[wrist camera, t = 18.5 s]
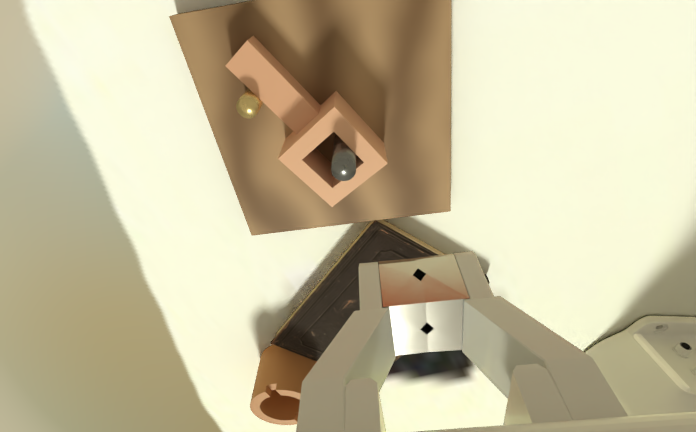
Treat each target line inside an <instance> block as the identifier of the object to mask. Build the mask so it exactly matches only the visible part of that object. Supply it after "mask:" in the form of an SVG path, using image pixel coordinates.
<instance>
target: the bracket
mask: <svg viewBox="0 0 696 432" xmlns="http://www.w3.org/2000/svg"><path fill="white" fill-rule="evenodd" d="M316 362H317V361H314V360H312V359H309V358H307V357H304V356H301V355H299V354H296V353H294V352H291V351H288V350H286V349H283V348H281V347H278V346H276V345H271V346H269V347H268V348H266V349H265V350H264V351H263V353H262V355H261V358H260V363H259V367H258V372H257V376H256V381H255V385H254V390H253V394H252V399H251V403H250V408H251V411H252V412H253V413H254V414H255V415H256V416H257V417H258V418H260V419H262V420H264V421H266V422H269V423H273V424H279V425H294V424H297V421H298V413H299V404H300V396H301V387H302V381H303V380H304V379H305V377H306V376H307V375H308V373H309V372H310V370H311V369H312V368H313V366H314V365H315V364H316Z"/></svg>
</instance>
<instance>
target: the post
mask: <svg viewBox="0 0 696 432" xmlns="http://www.w3.org/2000/svg"><path fill="white" fill-rule="evenodd" d="M331 172H332V175H333V176H334V177H335V178H336V179H337V180H340V181H348V180H350V179H352V178H353V177H354V175H355V173H356V154H355V153H354V152H353V151H352V150H351V149H350V148H349V147H348V146H347V144H346V143H345V142H344V141H343V140H342V139H341V138H340V137H339V136H338V135H337V134H336V133H335V135H334V144H333V155H332V166H331Z"/></svg>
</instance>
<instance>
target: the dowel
mask: <svg viewBox="0 0 696 432" xmlns="http://www.w3.org/2000/svg"><path fill="white" fill-rule="evenodd" d="M262 105H263V102H262V101H261V100H260V99H259V98H258V97H257V96H256V95H255V94H254V93H253V92H252V91H251V90H250V89H249V88H248V89H247V90H246V91H245V92H244V94H243V95H242V96H241V97H240V99H239V100H238V101H237V104H236V108H237V111H238V113H239V114H240V115H241V116H242V117H244V118H253V117H255V116H256V115H257V113H258V112H259V110H260V108H261V107H262Z"/></svg>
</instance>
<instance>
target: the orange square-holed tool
mask: <svg viewBox="0 0 696 432" xmlns="http://www.w3.org/2000/svg"><path fill="white" fill-rule="evenodd" d="M226 67H227V68H228V69H229V70H230V71H231V72H232V73H233V74H234V75H235V76H236V77H237V78H238V79H239V80H240V81H241V82H242V83H244V84H245V85H246V86H247V87H248V88H249V89H250V90H251V91H252V92H253V93H254V94H255V95H256V96H257V97H258V98H259V99H260V100H261V101H262V102H263V103H264V104H265V105H266V106H268V107H269V108H270V109H271V110H272V111H273V112H274V113H275V114H276V115H277V116H278V117H279V118H280V119H281V120H282V121H283V122H284V123H285V124H286V125H287V126H288V127H289V128H290V129H292V130H293V132H292V133H291V134H290V135H289V136H288V137H286V138H285V141H284V144H283V146H282V149H281V152H280V155H279V157H278V159H279V160H280V161H281V162H282V163H283V164H284V165H285V166H287V167H288V168H289V169H290V170H291V171H292V172H293V173H294V174H295V175H297V176H298V177H299V178H300V179H301V180H302V181H303V182H304V183H305V184H307V185H308V186H309V187H310V188H311V189H312V190H313V191H314V192H316V193H317V194H318V195H319V196H320V197H321V198H322V199H323V200H324V201H326V202H327V203H328V204H329V205H330V206H331V207H333V206H334V205H335V204H337V203H338V202H339V201H341V200H342V199H343V198H344V197H346V196H347V195H348V194H349V193H351V192H352V191H353V190H355V189H356V188H357V187H358V186H360V185H361V184H362V183H364V182H365V181H366V180H367V179H369V178H370V177H371V176H372V175H374V174H375V173H376V172H378V171H379V170H380V169H381V168H383V167H384V166H385V165H387V164H388V162H387V157H386V151H385V146H384V142H383V141H382V140H381V139H380V138H379V137H378V136H377V135H376V134H375V133H374V132H373V130H372V129H371V128H370V127H369V126H368V125H367V124H366V123H365V122H364V121H363V120H362V118H361V117H360V116H359V115H358V114H357V113H356V112H355V111H354V110H353V109H352V107H351V106H350V105H349V104H348V103H347V102H346V101H345V100H344V99H343V98H342V97H341V95H340V94H339V93H338V92H337V91H335V92H334V93H333V94H332V95H331V96H330V97H329V98H328V99H327V100H326V101H325V102H324V103H322V104H321V105H320V104H319V103H318V102H317V101H316V100H315V99H314V98H313V97H312V96H311V95H310V94H309V93H308V92H307V91H306V90H305V89H304V88H303V87H302V86H301V85H300V83H299V82H298V81H297V80H296V79H295V78H294V77H293V76H292V75H291V74H290V73H289V72H288V71H287V70H286V69H285V68H284V67H283V66H282V65H281V64H280V63H279V62H278V61H277V60H276V59H275V57H274V56H273V55H272V54H271V53H270V52H269V51H268V50H267V49H266V48H265V47H264V46H263V45H262V44H261V43H260V42H259V41H258V40H257V39H256V38H255V37H254V36H252V37H251V38H250V39H248V40H247V41H246V42H245V43H244V45H243V46H242V47H241V48H240V49H239V50H238V52H237V53H236V54H235V55H234V56H233V57H232V59H231V60H230V61H229V62H228V63H227V64H226ZM333 132H335V133H336V134H337V135H338V136H339V137H340V138H341V139H342V140H343V141H344V142H345V143H346V144H347V146H348V147H349V148H350V149H351V150H352V151H353V152H354V153H355V154H356V173H355V175H354V177H353V178H352V179H350V180H348V181H340V180H337V179H336V178H335V177H334V176H333V175H332V172H331V166H332V163H331V162H330V161H329V160H328V159H327V158H326V157H324V156H323V155H322V154H321V153H320V152H319V151H318V150H317V149H316V147H317V146H318V145H319V144H320V143H321V142H323V141H324V140H325V139H326V138H327V137H328V136H329V135H330V134H332V133H333Z"/></svg>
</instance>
